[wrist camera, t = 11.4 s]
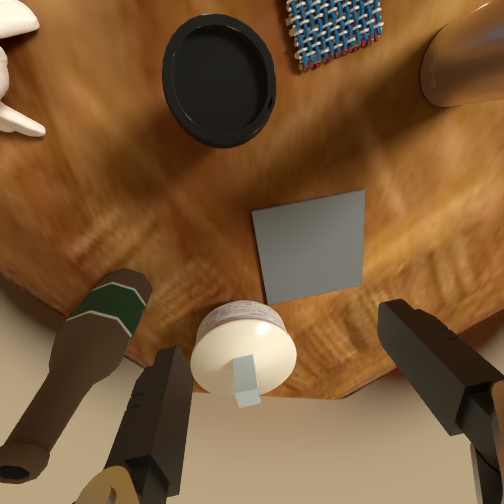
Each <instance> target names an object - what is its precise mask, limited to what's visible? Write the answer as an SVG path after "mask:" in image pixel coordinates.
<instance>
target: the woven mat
mask: <svg viewBox="0 0 504 504" xmlns="http://www.w3.org/2000/svg"><path fill="white" fill-rule="evenodd" d="M378 1H379V0H288V1H287V2H286V3H287V5H286V10H287V12H291V13H290V14H289V17H290V18H287V19H286V24H287V26H289V25H291V24H293V26H292V29H290V30H289V35H290V37H292V36H294V37H295V38H294V40H295V42H294V46H295V47H298V49H299V51H297V53H296V54H295V55H294V57H295V59H299V60H301V61H299V63H302V64H299V69H300V70H302V69H303V71H306V70H307V68H308V67H310V69H311V68H313V65H314V64H315V66H316V68H318V67H319V66H320V65H319V62H322V61H323V63H325V62H326V59H329V62H331V61H332V57H334V56H335V58H338V57H339V54H341V53H342V55H344V54H346V53H345V51H348V53H349V52H351V51H352V49H353V51H354V52H355V51H357V47H358V46H360V45H361V47H363V46H365V43H367V45H370V43H371V41H372V40H374V42H376V41H378V37H379V35H381V33H382V32H381V30H382V27H381V28H380V26H382V25H383V23H384V22H382V23H380V19H381V16H380V15H379V13H378V11H380V10H381V8H378V6H379V5H380V2H378ZM303 5H304V6H305V7H303ZM311 7H312V8H311ZM306 18H307V20H306ZM374 18H375V19H374ZM299 21H300V23H299ZM337 30H338V31H337ZM344 30H345V31H344ZM301 33H303V35H301ZM309 34H310V35H309ZM334 35H335V36H334ZM324 36H325V37H324ZM303 37H304V38H303ZM311 42H312V44H311ZM304 44H305V47H306V48H304ZM307 57H308V58H307ZM307 60H308V61H307Z"/></svg>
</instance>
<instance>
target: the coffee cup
mask: <svg viewBox="0 0 504 504" xmlns="http://www.w3.org/2000/svg"><path fill="white" fill-rule="evenodd" d="M162 82H163V91H164V94H165V98H166V102H167V104H168V106H169V109H170V111H171V113H172V115H173V116H174V118H175V119H176V121H177V122H178V124H179V125H180V126H181V127H182V128H183V129H184V131H185V132H186V133H187V134H188V135H190V136H191V137H192V138H194V139H195V140H196V141H198V142H200V143H202V144H204V145H206V146H210V147H214V148H225V149H226V148H232V147H237V146H239V145H242V144H244V143H246V142H248V141H249V140H251V139H252V138H254V137H255V136H256V135H257V134H258V133H259V132H260V131H261V130H262V129H263V127H264V126H265V124H266V123H267V121H268V119H269V117H270V115H271V113H272V110H273V107H274V104H275V98H276V74H275V66H274V63H273V60H272V56H271V54H270V52H269V50H268V48H267V46H266V44H265V43H264V42H263V40H262V39H261V38H260V37H259V35H258V34H257V33H256V32H255V31H253V30H252V29H251V28H250V27H249V26H248V25H246V24H244V23H243V22H241V21H239V20H238V19H235V18H233V17H230V16H227V15H222V14H204V15H199V16H197V17H194V18H192V19H189V20H188V21H187V22H185V23H184V24H182V25H181V26H180V27H179V28H178V29H177V31H176V32H175V33H174V34H173V35H172V37H171V39H170V41H169V43H168V45H167V47H166V50H165V54H164V58H163V68H162Z"/></svg>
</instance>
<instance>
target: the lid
mask: <svg viewBox="0 0 504 504" xmlns="http://www.w3.org/2000/svg"><path fill="white" fill-rule="evenodd" d="M295 363H296V349H295V345H294V343H293V340H292V338H291V337H290V335H289V334H288V333H287V332H286V331H285V330H284V329H283V328H282V327H280V326H279V325H277V324H275V323H273V322H271V321H267V320H264V319H258V318H239V319H233V320H229V321H226V322H223V323H221V324H218V325H217V326H215V327H213V328H211V329H210V330H208V331H207V332H206V333H205V334H204V335H202V336H201V338H200V339H199V340H198V341H197V343H196V344H195V346H194V349H193V351H192V355H191V364H190V366H191V372H192V375H193V377H194V379H195V380H196V382H197V383H198V384H199V385H200V386H201V387H202V388H204V389H205V390H207V391H208V392H210V393H212V394H215V395H218V396H222V397H226V398H236V399H237V402H238V406H239V408H241V407H246V406H250V405H254V404H259V403H261V398H260V395H261V394H264V393H267V392H269V391H271V390H273V389H274V388H276V387H277V386H279V385H280V384H281V383H283V382H284V381H285V380H286V379H287V378H288V376H289V375H290V374H291V372H292V370H293V368H294V366H295Z"/></svg>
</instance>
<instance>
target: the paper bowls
mask: <svg viewBox="0 0 504 504" xmlns="http://www.w3.org/2000/svg"><path fill="white" fill-rule="evenodd" d="M239 318H258V319H264V320H267V321H271V322H273V323H275V324H277V325H279V326H280V327H282V328H283V329H284V330H285V331H286V329H285V326H284V324H283V321H282V319H281V317H280V316H279V315H278V313H277V312H275V311H274V310H273V309H272V308H270V307H269V306H266V305H264V304H261V303H258V302H254V301H245V300H244V301H234V302H231V303H227V304H224V305H222V306H220V307H218V308H216V309H214V310H213V311H211V312H210V313H209V314H208V315H207V316H206V317H205V318H204V319H203V321H202V322H201V324H200V326H199V329H198V332H197V337H196V343H197V341H198V340H199V339H200V338H201V336H202V335H204V334H205V333H206V332H207V331H208V330H210V329H211V328H213V327H215V326H217V325H218V324H221V323H223V322H226V321H229V320H233V319H239ZM286 332H287V331H286ZM196 343H195V344H196Z"/></svg>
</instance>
